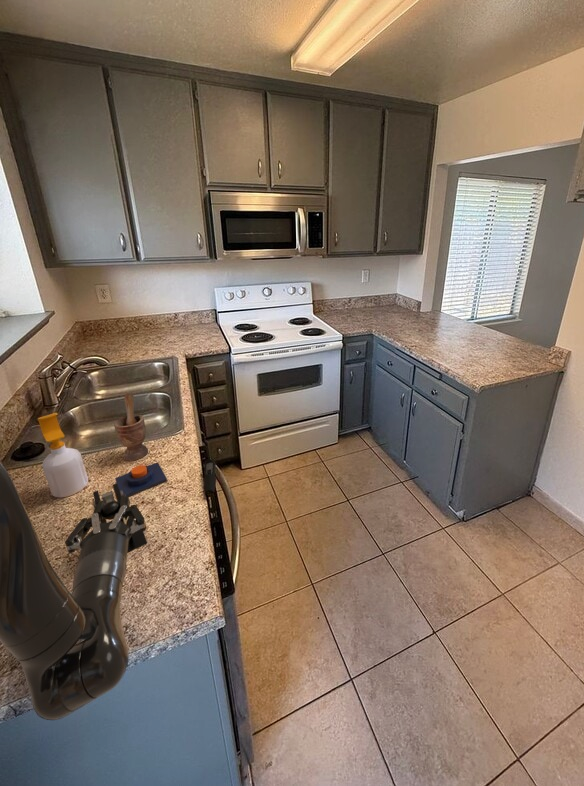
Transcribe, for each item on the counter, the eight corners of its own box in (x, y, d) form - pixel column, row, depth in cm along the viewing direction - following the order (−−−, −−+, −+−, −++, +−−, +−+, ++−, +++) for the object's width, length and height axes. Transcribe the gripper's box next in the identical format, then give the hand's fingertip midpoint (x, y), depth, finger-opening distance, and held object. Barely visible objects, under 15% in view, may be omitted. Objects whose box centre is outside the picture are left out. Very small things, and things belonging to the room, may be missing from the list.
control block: (123, 503, 99) (119, 491, 98) (116, 484, 106) (113, 472, 105) (167, 484, 106) (165, 473, 104) (159, 467, 113) (156, 457, 112)
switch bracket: (148, 547, 85) (136, 497, 80) (100, 570, 79) (83, 519, 74) (137, 516, 94) (125, 470, 89) (93, 536, 88) (78, 488, 83)
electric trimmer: (202, 500, 100) (201, 491, 99) (204, 465, 114) (203, 457, 113) (216, 497, 101) (215, 488, 100) (216, 463, 115) (215, 455, 114)
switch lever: (124, 516, 74) (119, 500, 74) (104, 525, 72) (99, 508, 72) (118, 501, 85) (114, 486, 84) (101, 508, 83) (97, 493, 82)
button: (133, 480, 102) (132, 475, 102) (131, 473, 105) (129, 468, 105) (148, 474, 105) (147, 470, 104) (145, 468, 108) (144, 463, 107)
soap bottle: (56, 503, 99) (29, 426, 91) (48, 488, 105) (23, 414, 97) (92, 486, 105) (71, 413, 97) (83, 473, 111) (62, 403, 103)
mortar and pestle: (118, 449, 123) (105, 397, 117) (145, 440, 128) (134, 389, 121) (124, 465, 115) (111, 410, 108) (153, 455, 120) (142, 402, 113)
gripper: (142, 538, 63) (146, 477, 78) (46, 568, 58) (69, 497, 73) (150, 568, 66) (152, 504, 81) (59, 599, 61) (79, 525, 75)
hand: (113, 501), depth 77 cm, fingers closed on switch lever, 3 cm apart
